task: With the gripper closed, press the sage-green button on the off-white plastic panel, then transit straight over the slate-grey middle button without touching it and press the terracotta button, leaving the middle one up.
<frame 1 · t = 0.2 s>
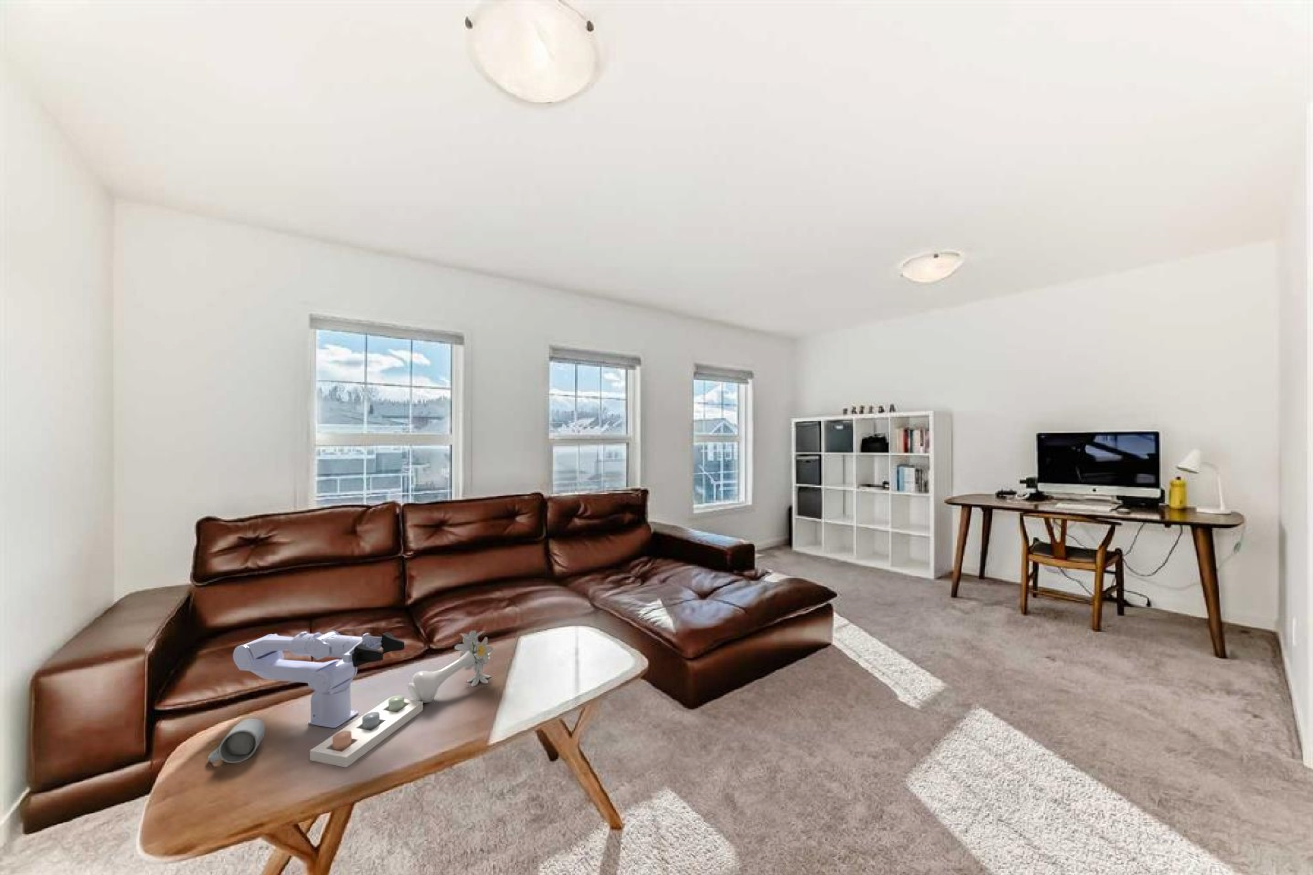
hand: (393, 650, 137), 21 cm above the table, tool horizontal, fingers open, 7 cm apart
terracotta button: (342, 741, 126), point 3 cm above the table, slide at 0.0 cm
slate button: (371, 721, 135), point 3 cm above the table, slide at 0.0 cm
panel: (371, 732, 135), on the table
sage button: (396, 704, 144), point 3 cm above the table, slide at 0.0 cm
flower vase: (454, 690, 158), on the table
ceramic mug: (236, 756, 126), on the table
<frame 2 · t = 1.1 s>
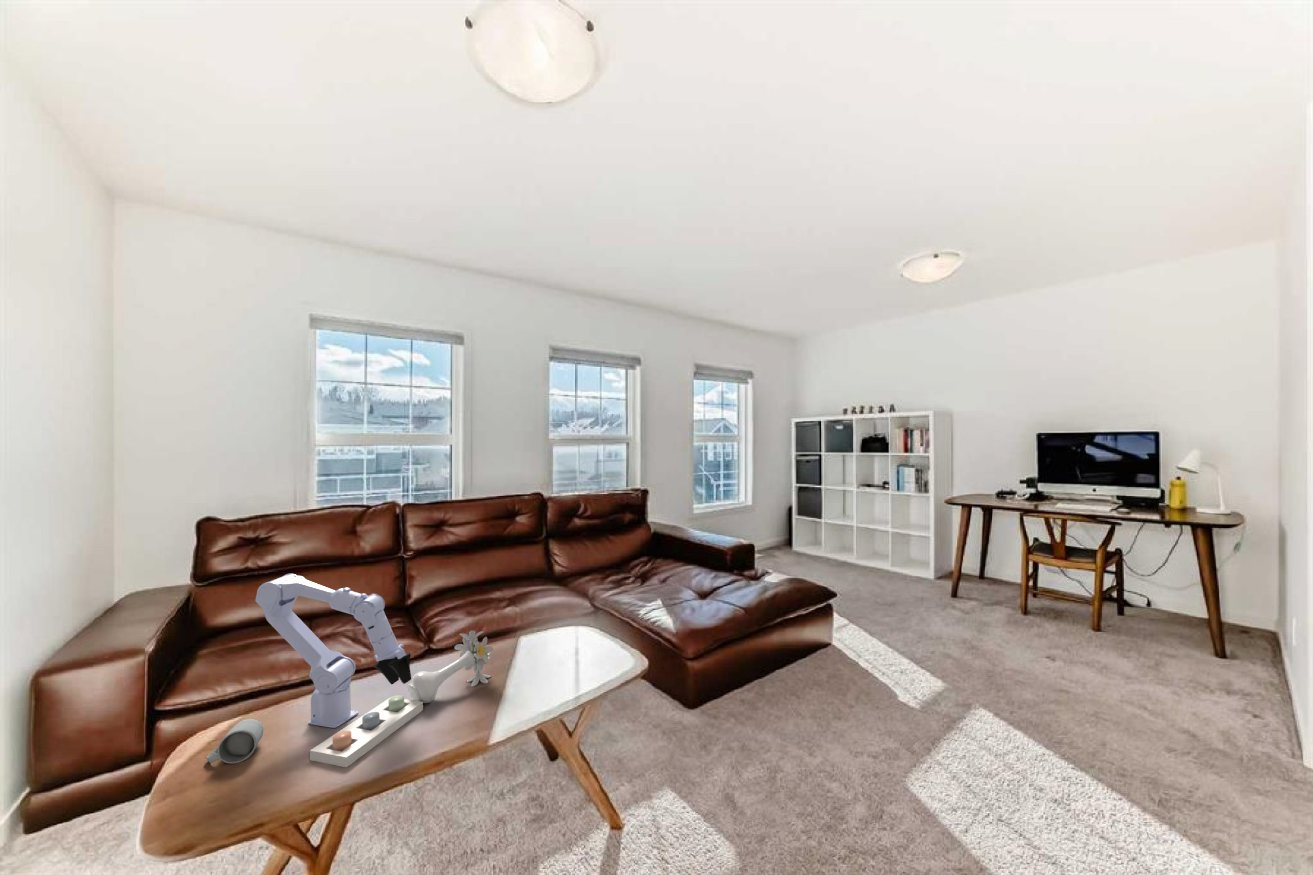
hand: (401, 681, 142), 10 cm above the table, tool tilted 20°, fingers open, 7 cm apart
nothing on the table moved.
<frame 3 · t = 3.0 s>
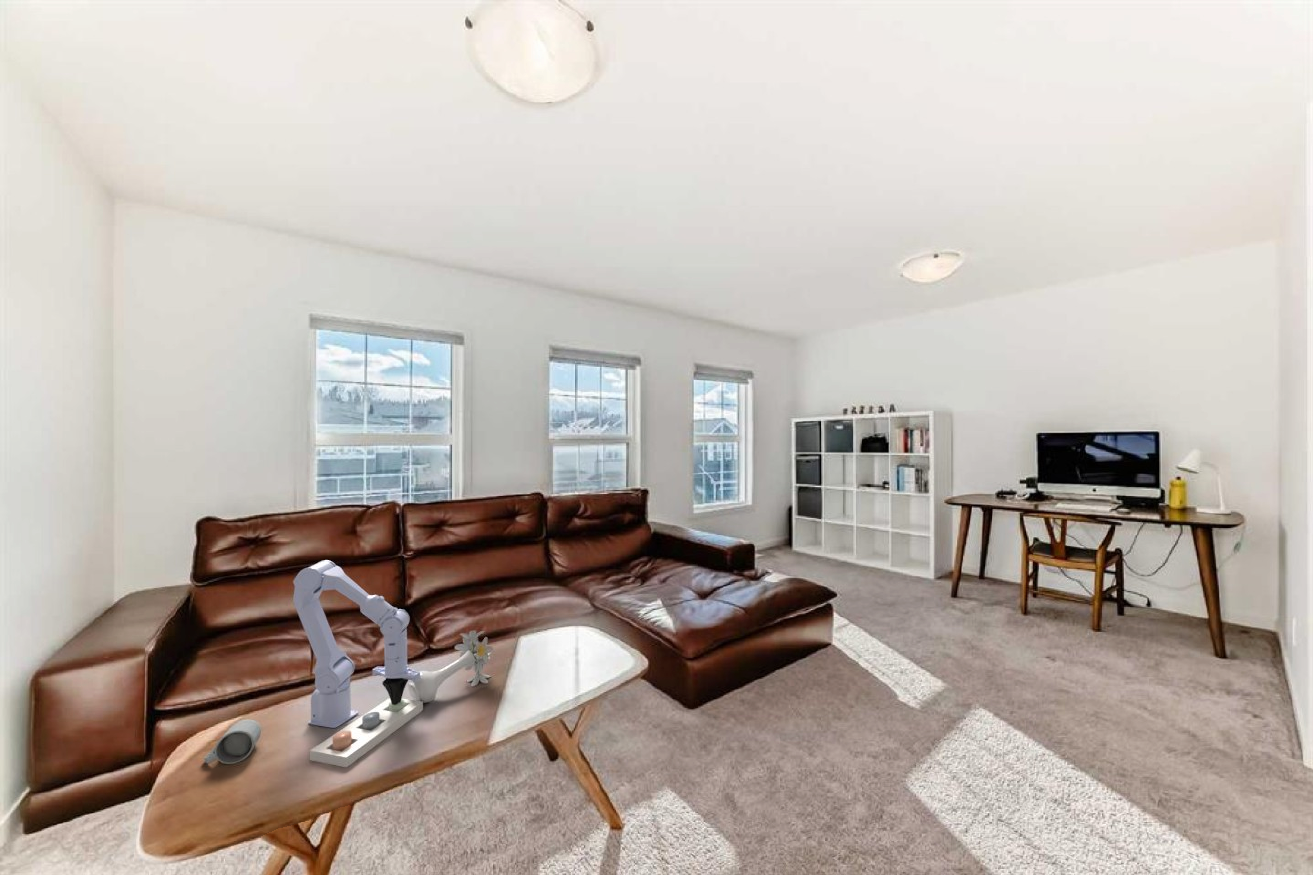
hand: (396, 702, 144), 3 cm above the table, tool pointing down, fingers closed, pressing on sage button
sage button: (396, 708, 144), point 2 cm above the table, slide at 1.1 cm, touching gripper
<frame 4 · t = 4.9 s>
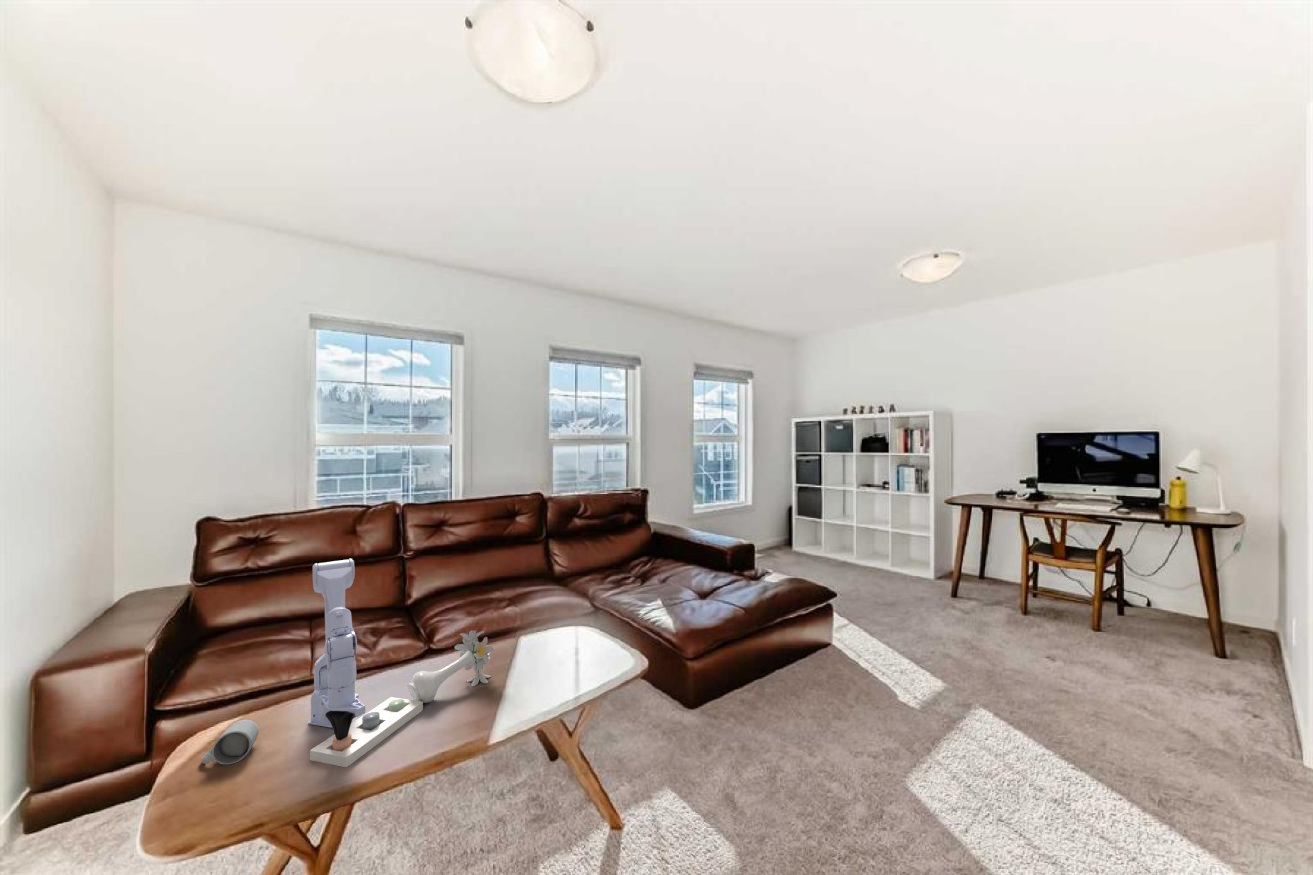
hand: (342, 737, 126), 4 cm above the table, tool pointing down, fingers closed, pressing on terracotta button
terracotta button: (342, 743, 126), point 2 cm above the table, slide at 0.6 cm, touching gripper
sage button: (396, 708, 144), point 2 cm above the table, slide at 1.1 cm
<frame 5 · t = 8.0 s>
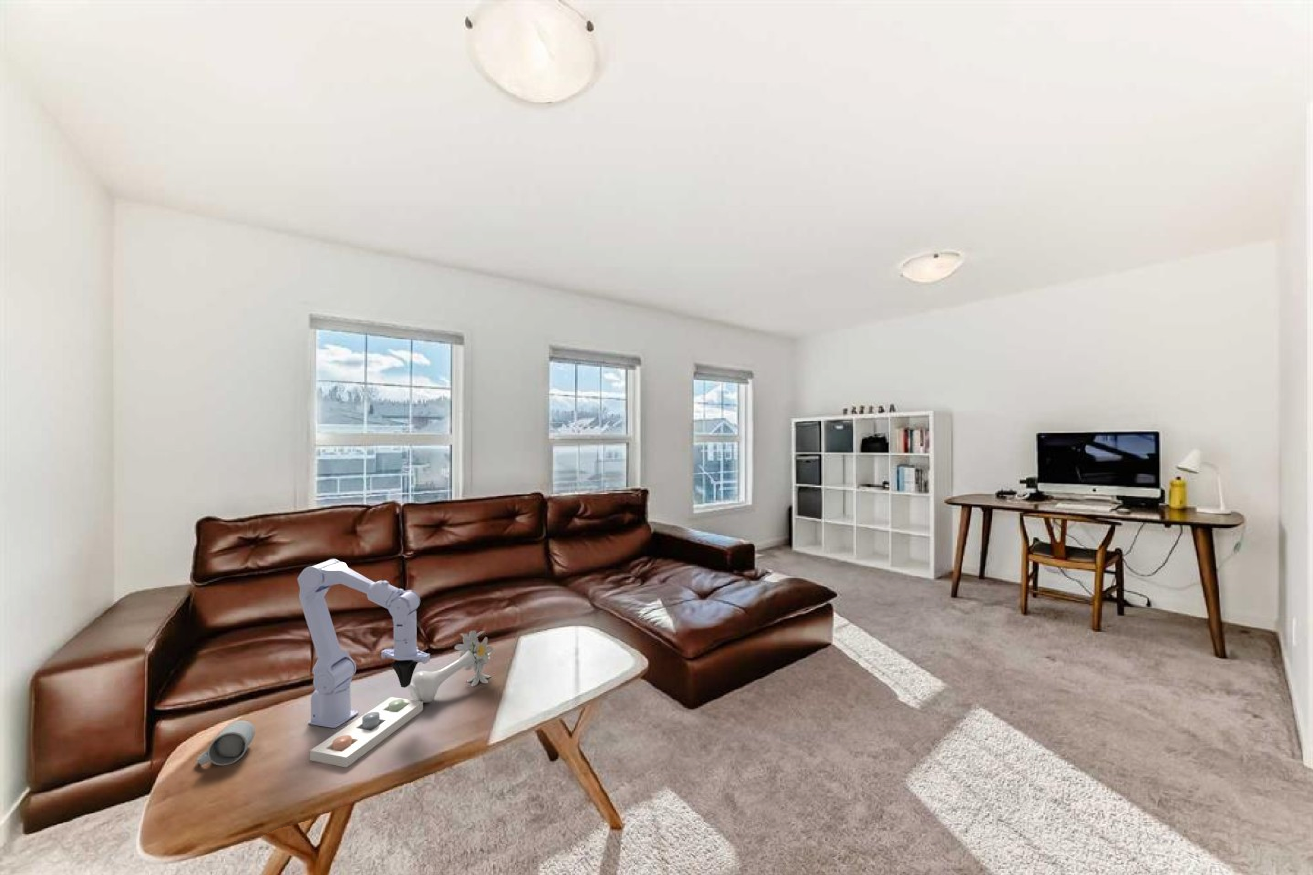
hand: (405, 685, 141), 10 cm above the table, tool pointing down, fingers closed
terracotta button: (342, 746, 126), point 2 cm above the table, slide at 1.1 cm
at the end: sage button slide at 1.1 cm; terracotta button slide at 1.1 cm; slate button slide at 0.0 cm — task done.
